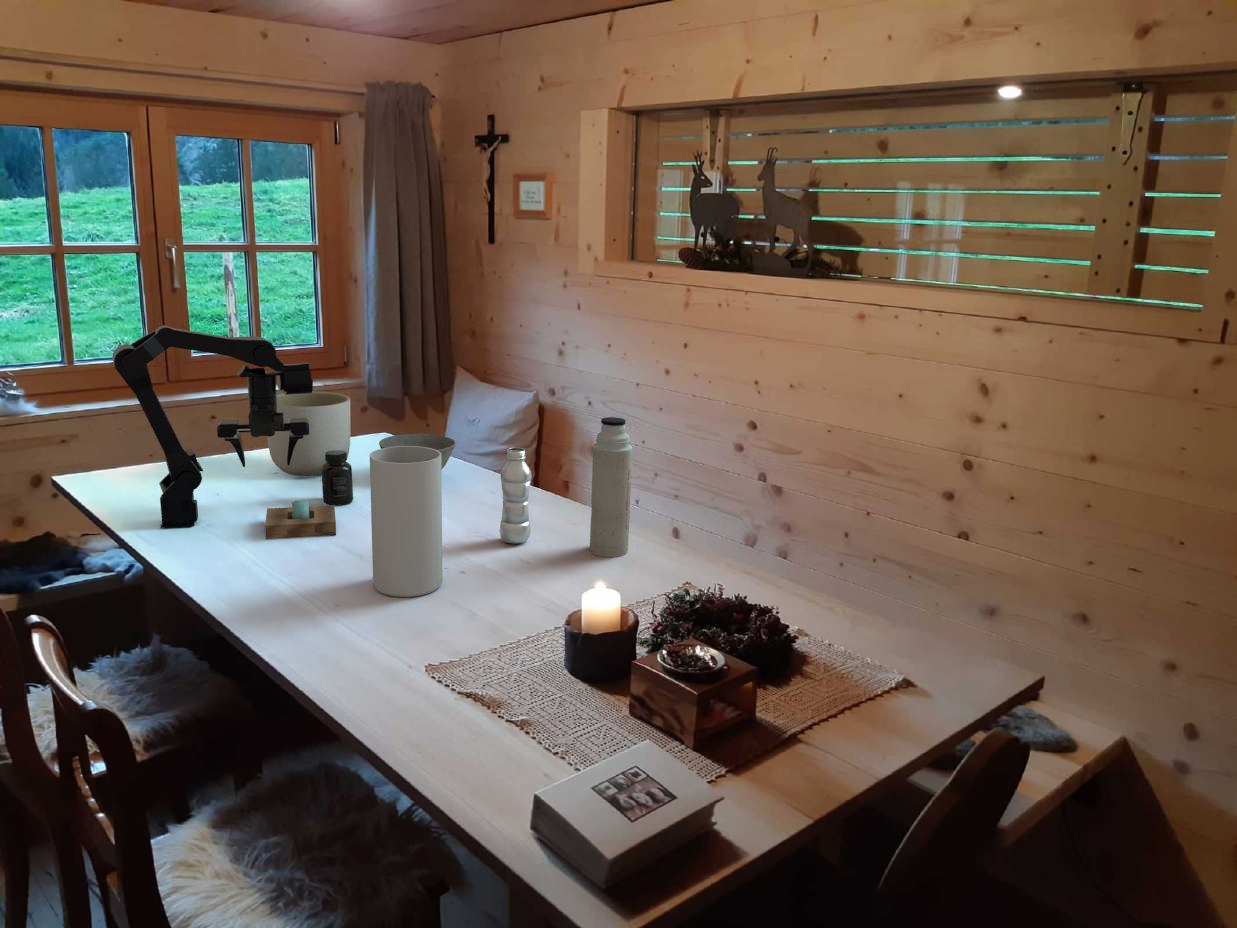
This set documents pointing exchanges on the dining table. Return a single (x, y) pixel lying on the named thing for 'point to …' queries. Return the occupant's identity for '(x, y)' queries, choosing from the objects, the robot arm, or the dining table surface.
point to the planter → (311, 431)
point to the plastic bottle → (515, 497)
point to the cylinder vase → (406, 520)
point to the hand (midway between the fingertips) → (266, 465)
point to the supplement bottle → (337, 479)
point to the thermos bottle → (611, 489)
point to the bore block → (300, 523)
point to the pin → (300, 509)
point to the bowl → (422, 443)
